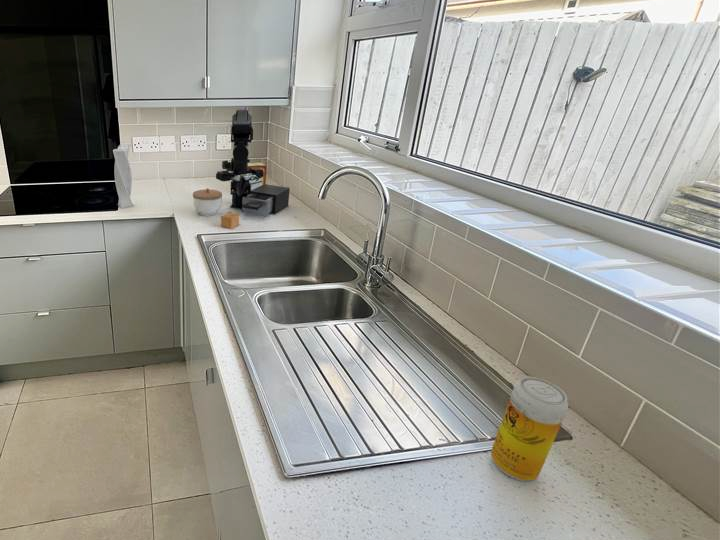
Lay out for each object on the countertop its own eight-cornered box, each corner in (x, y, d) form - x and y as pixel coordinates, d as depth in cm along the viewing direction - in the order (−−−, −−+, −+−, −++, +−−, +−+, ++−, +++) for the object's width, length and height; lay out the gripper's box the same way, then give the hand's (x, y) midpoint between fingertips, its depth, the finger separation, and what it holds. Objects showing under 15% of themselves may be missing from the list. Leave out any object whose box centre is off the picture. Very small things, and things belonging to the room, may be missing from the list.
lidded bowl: (192, 209, 182) (191, 185, 178) (220, 208, 183) (220, 184, 179) (193, 218, 170) (193, 193, 166) (223, 217, 171) (224, 192, 167)
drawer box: (275, 214, 175) (276, 195, 172) (249, 209, 181) (249, 190, 178) (288, 205, 186) (289, 187, 183) (263, 201, 193) (264, 184, 189)
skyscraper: (130, 202, 192) (125, 142, 182) (137, 205, 187) (132, 144, 176) (114, 204, 188) (109, 143, 178) (121, 208, 182) (115, 146, 172)
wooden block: (220, 226, 161) (220, 216, 159) (228, 222, 166) (228, 212, 164) (231, 228, 159) (231, 218, 157) (238, 224, 163) (239, 214, 162)
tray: (261, 219, 166) (262, 204, 163) (237, 215, 172) (237, 199, 169) (279, 208, 179) (280, 194, 177) (256, 204, 185) (256, 190, 183)
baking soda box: (246, 197, 199) (247, 165, 193) (243, 194, 205) (244, 162, 199) (264, 197, 200) (266, 164, 194) (261, 193, 206) (262, 162, 200)
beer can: (480, 450, 65) (506, 376, 59) (515, 447, 66) (544, 373, 60) (509, 485, 59) (541, 407, 54) (548, 482, 60) (583, 404, 54)
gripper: (250, 151, 166) (249, 188, 172) (209, 154, 158) (209, 193, 164) (265, 155, 157) (263, 194, 162) (222, 159, 149) (222, 200, 155)
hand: (239, 195), depth 161 cm, fingers closed
